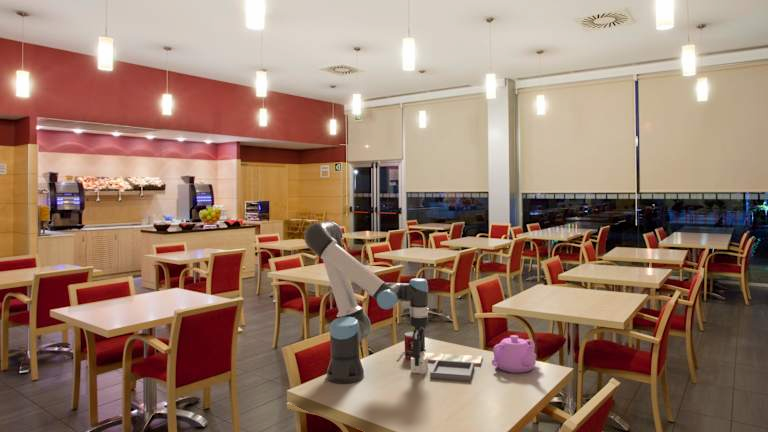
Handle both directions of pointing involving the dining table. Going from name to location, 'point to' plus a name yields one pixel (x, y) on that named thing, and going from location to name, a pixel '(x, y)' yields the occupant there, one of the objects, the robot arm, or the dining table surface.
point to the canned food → (409, 345)
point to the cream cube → (423, 364)
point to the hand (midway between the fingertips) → (419, 369)
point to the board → (451, 358)
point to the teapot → (514, 355)
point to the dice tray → (452, 370)
